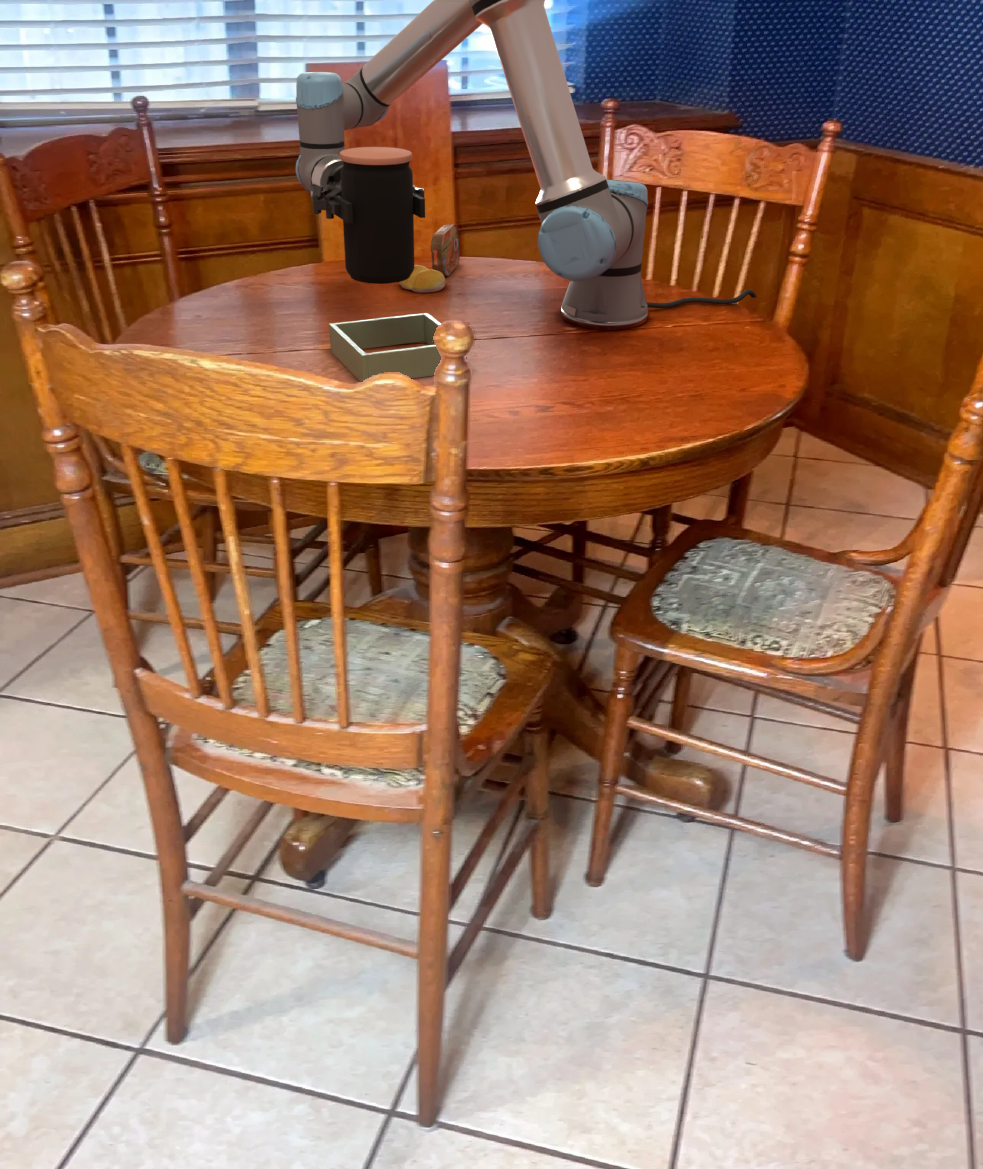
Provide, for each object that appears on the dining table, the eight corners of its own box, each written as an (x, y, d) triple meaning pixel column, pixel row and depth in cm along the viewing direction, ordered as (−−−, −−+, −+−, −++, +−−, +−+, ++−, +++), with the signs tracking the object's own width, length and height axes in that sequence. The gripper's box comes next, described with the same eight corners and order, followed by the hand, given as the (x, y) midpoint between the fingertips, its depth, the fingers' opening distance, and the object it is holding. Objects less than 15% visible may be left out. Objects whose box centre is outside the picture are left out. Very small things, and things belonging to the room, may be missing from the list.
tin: (444, 280, 203) (443, 236, 199) (428, 279, 204) (428, 235, 200) (461, 262, 216) (461, 220, 212) (446, 261, 217) (446, 219, 212)
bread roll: (426, 296, 194) (426, 274, 192) (391, 287, 199) (391, 266, 197) (455, 287, 199) (455, 266, 197) (420, 279, 204) (420, 258, 202)
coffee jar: (428, 274, 163) (426, 151, 154) (387, 289, 155) (382, 161, 146) (374, 263, 168) (369, 144, 159) (331, 277, 160) (324, 153, 151)
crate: (427, 339, 172) (427, 312, 169) (466, 371, 159) (467, 342, 156) (330, 351, 166) (328, 323, 163) (363, 385, 153) (362, 355, 150)
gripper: (407, 204, 176) (458, 231, 159) (273, 213, 168) (312, 243, 151) (406, 156, 173) (458, 179, 155) (269, 164, 164) (309, 189, 147)
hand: (386, 211), depth 153 cm, fingers closed on coffee jar, 11 cm apart
